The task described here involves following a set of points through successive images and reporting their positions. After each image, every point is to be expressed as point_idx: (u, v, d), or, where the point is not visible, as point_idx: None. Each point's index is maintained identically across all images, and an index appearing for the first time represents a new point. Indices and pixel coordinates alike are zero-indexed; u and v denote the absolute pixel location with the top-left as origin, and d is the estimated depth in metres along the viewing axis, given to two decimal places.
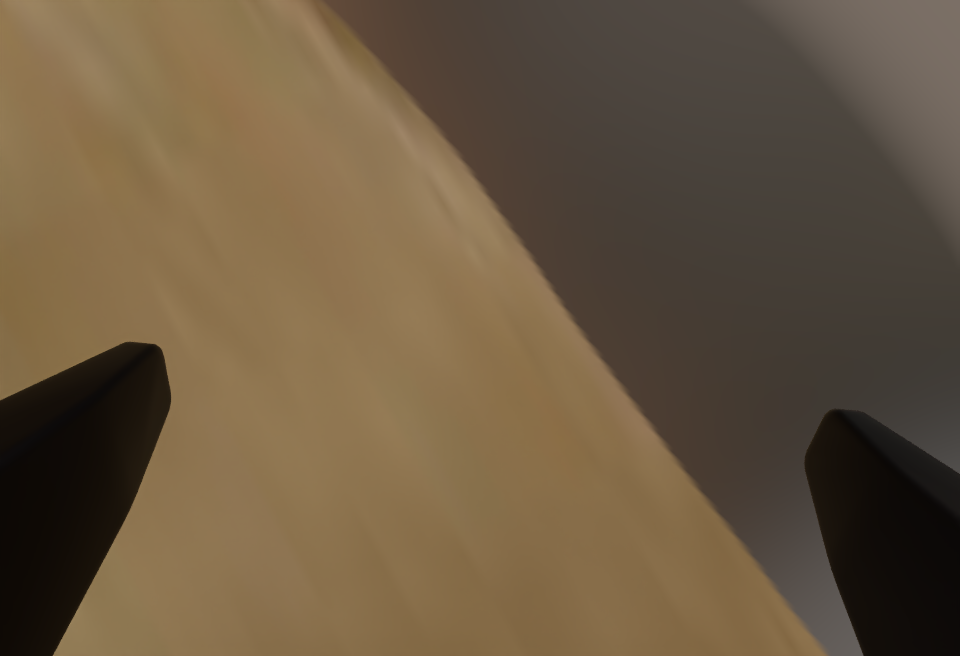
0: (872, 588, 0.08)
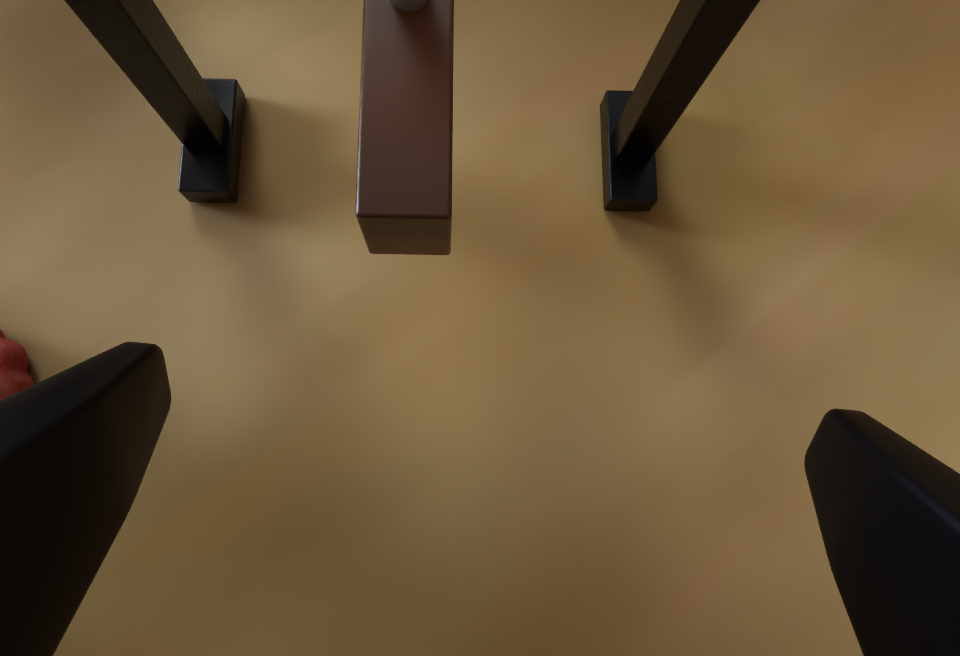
0: (872, 588, 0.08)
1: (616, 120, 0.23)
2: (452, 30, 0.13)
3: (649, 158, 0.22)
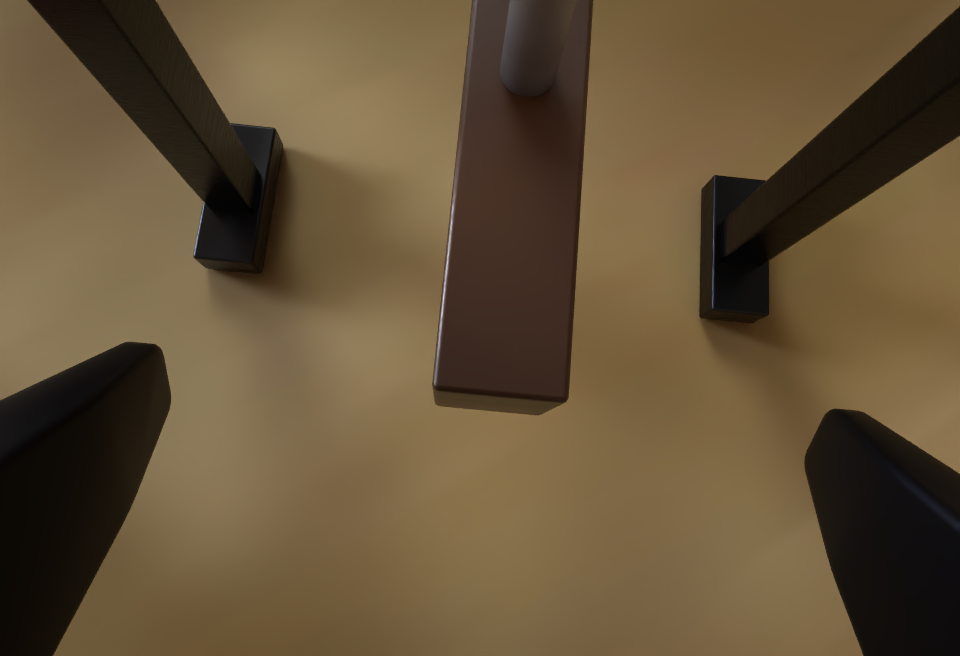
0: (872, 588, 0.08)
1: (724, 212, 0.19)
2: (584, 127, 0.10)
3: (763, 262, 0.18)
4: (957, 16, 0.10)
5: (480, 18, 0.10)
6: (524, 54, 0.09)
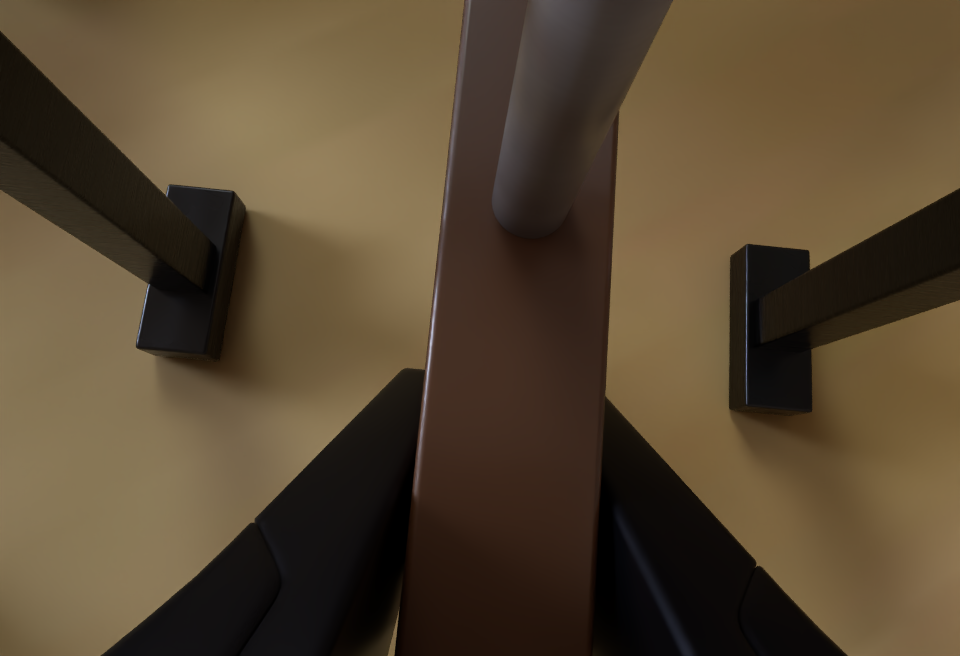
0: None
1: (759, 288, 0.16)
2: (609, 281, 0.07)
3: (806, 350, 0.16)
4: None
5: (463, 124, 0.07)
6: (526, 197, 0.06)
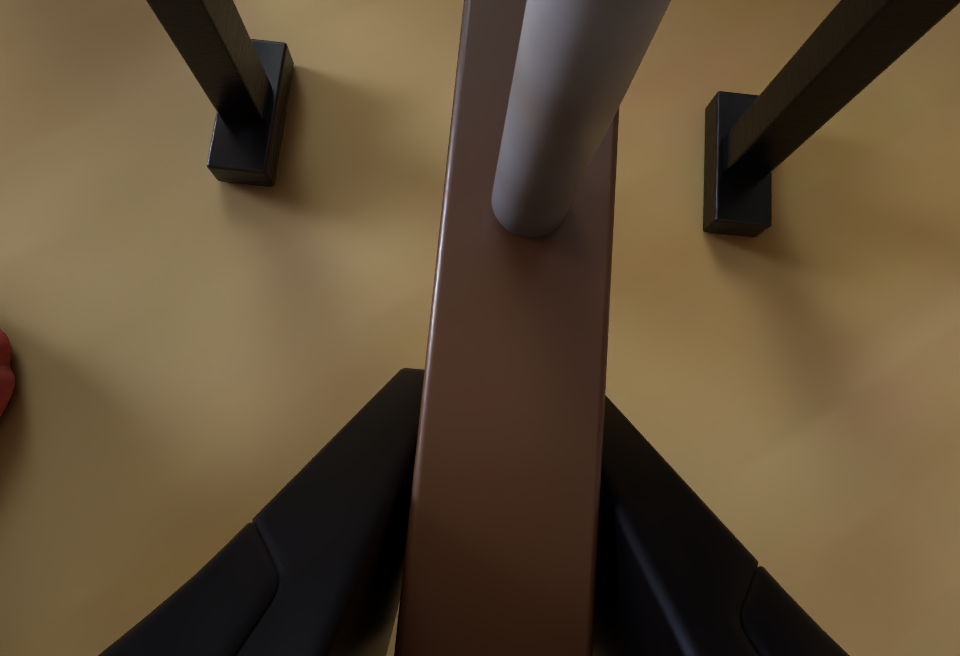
0: None
1: (728, 126, 0.19)
2: (609, 280, 0.07)
3: (766, 174, 0.19)
4: None
5: (463, 123, 0.07)
6: (526, 196, 0.06)
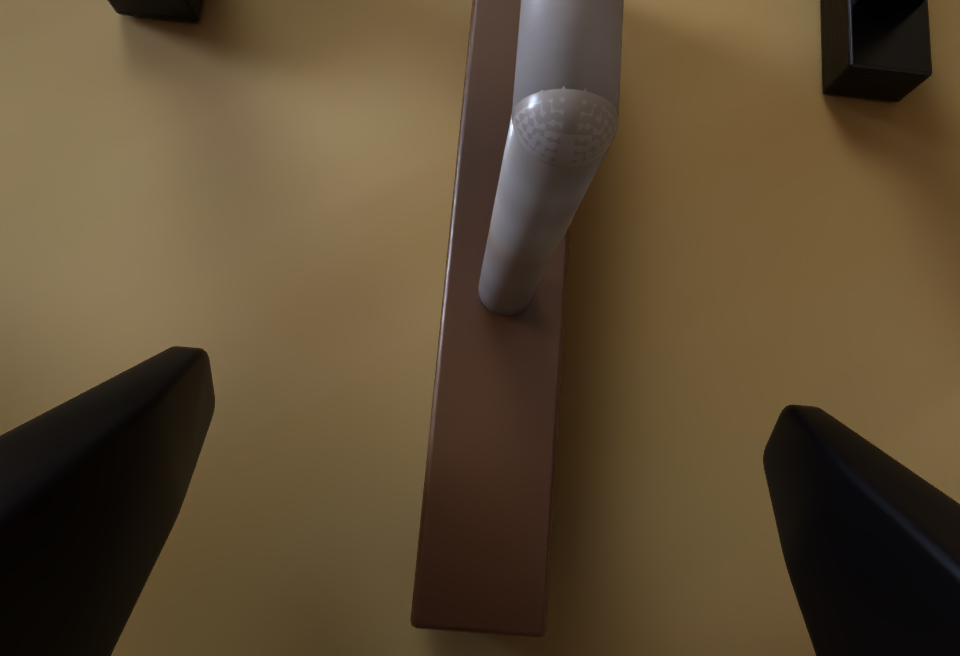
0: (823, 584, 0.08)
1: None
2: (561, 345, 0.10)
3: None
4: None
5: (459, 233, 0.10)
6: (500, 294, 0.09)
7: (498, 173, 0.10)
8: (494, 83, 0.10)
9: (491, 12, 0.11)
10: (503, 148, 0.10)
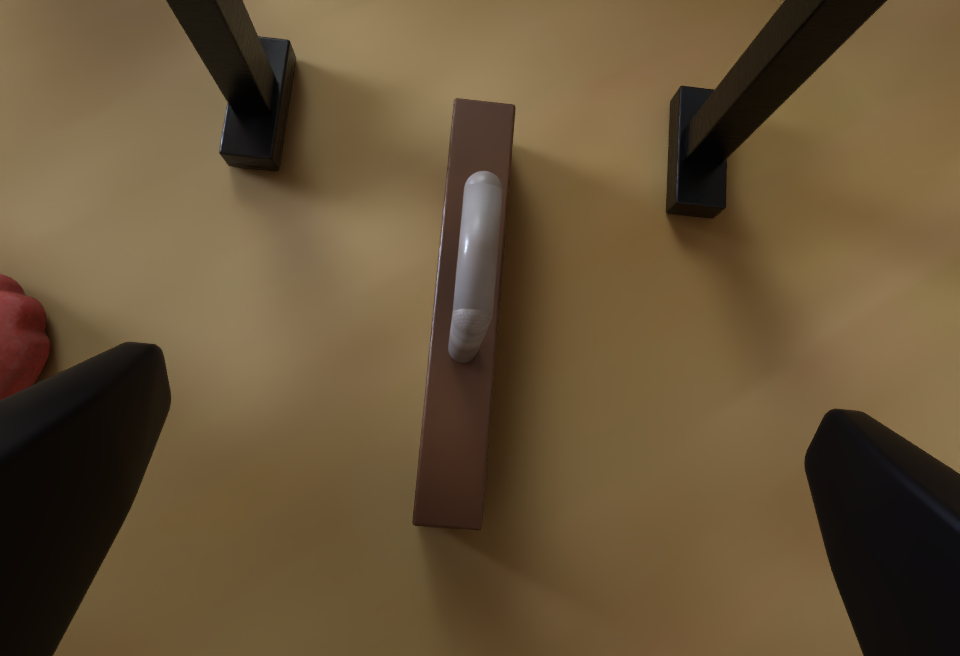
0: (872, 588, 0.08)
1: (688, 118, 0.21)
2: (492, 379, 0.18)
3: (722, 161, 0.21)
4: None
5: (437, 317, 0.18)
6: (458, 356, 0.17)
7: None
8: (458, 230, 0.19)
9: (456, 187, 0.19)
10: None
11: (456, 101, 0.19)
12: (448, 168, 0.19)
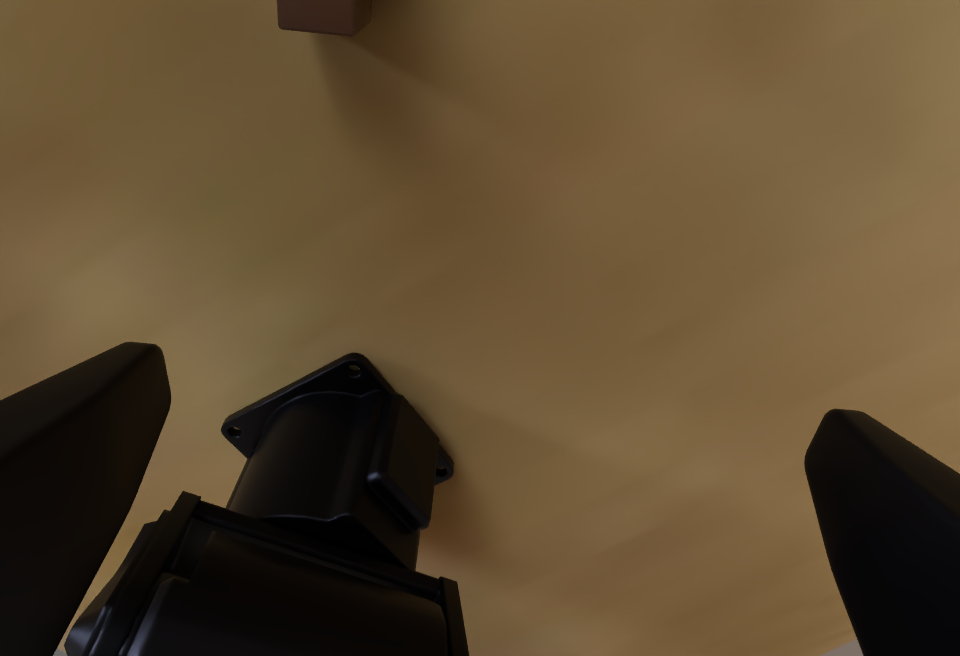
0: (872, 588, 0.08)
1: None
2: None
3: None
4: None
5: None
6: None
7: None
8: None
9: None
10: None
11: None
12: None
